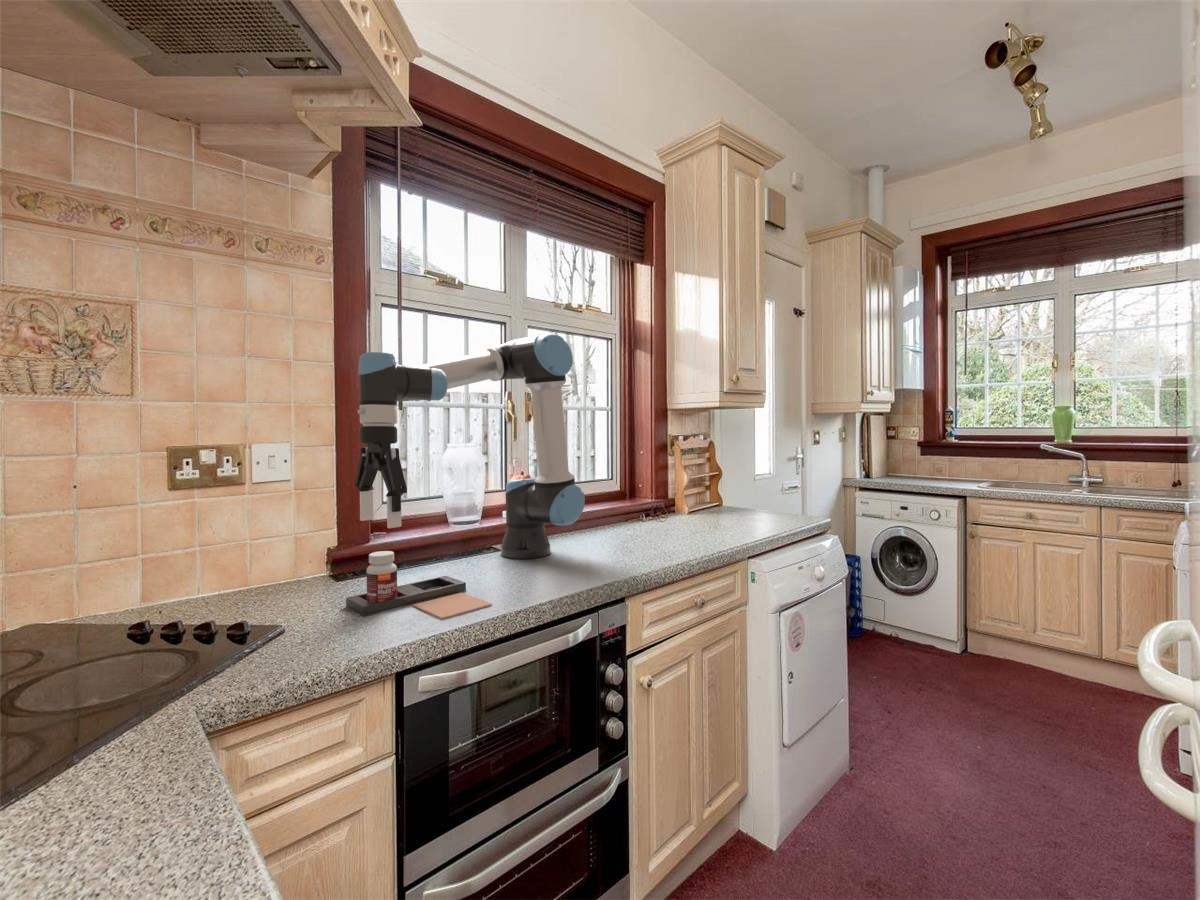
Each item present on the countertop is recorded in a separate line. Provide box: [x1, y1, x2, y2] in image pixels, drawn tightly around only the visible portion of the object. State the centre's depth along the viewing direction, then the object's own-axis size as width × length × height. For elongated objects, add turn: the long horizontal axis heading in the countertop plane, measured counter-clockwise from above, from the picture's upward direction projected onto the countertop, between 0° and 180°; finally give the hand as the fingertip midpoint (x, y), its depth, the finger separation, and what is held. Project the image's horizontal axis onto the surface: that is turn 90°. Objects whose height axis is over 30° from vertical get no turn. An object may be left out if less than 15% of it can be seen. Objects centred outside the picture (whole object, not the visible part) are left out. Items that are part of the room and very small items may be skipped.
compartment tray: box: [345, 575, 467, 617], centre depth 122 cm, size 24×9×2 cm, turn 136°
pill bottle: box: [365, 550, 398, 603], centre depth 118 cm, size 6×6×11 cm
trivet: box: [412, 592, 493, 621], centre depth 117 cm, size 12×12×1 cm
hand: (380, 523), depth 117 cm, fingers open, 13 cm apart
